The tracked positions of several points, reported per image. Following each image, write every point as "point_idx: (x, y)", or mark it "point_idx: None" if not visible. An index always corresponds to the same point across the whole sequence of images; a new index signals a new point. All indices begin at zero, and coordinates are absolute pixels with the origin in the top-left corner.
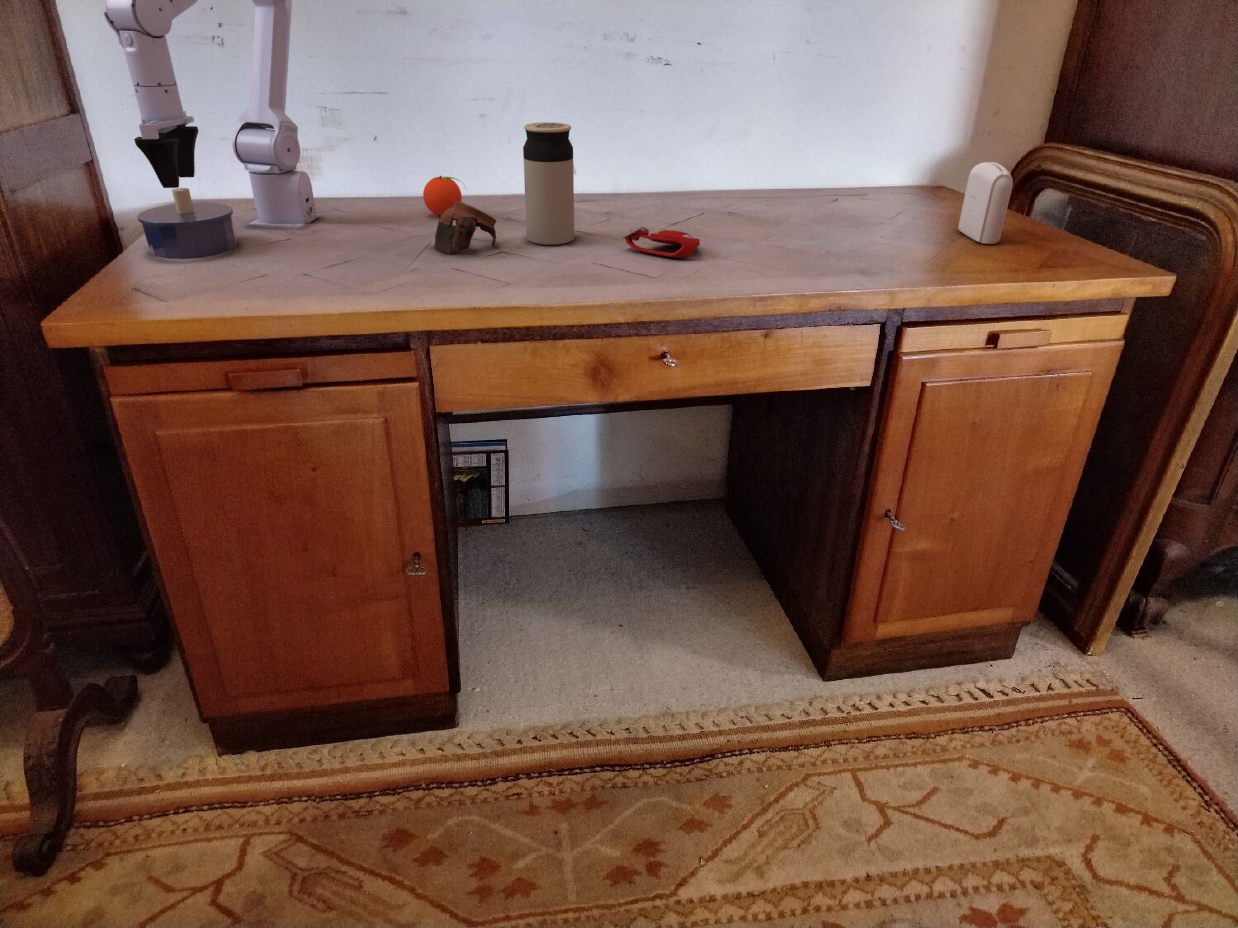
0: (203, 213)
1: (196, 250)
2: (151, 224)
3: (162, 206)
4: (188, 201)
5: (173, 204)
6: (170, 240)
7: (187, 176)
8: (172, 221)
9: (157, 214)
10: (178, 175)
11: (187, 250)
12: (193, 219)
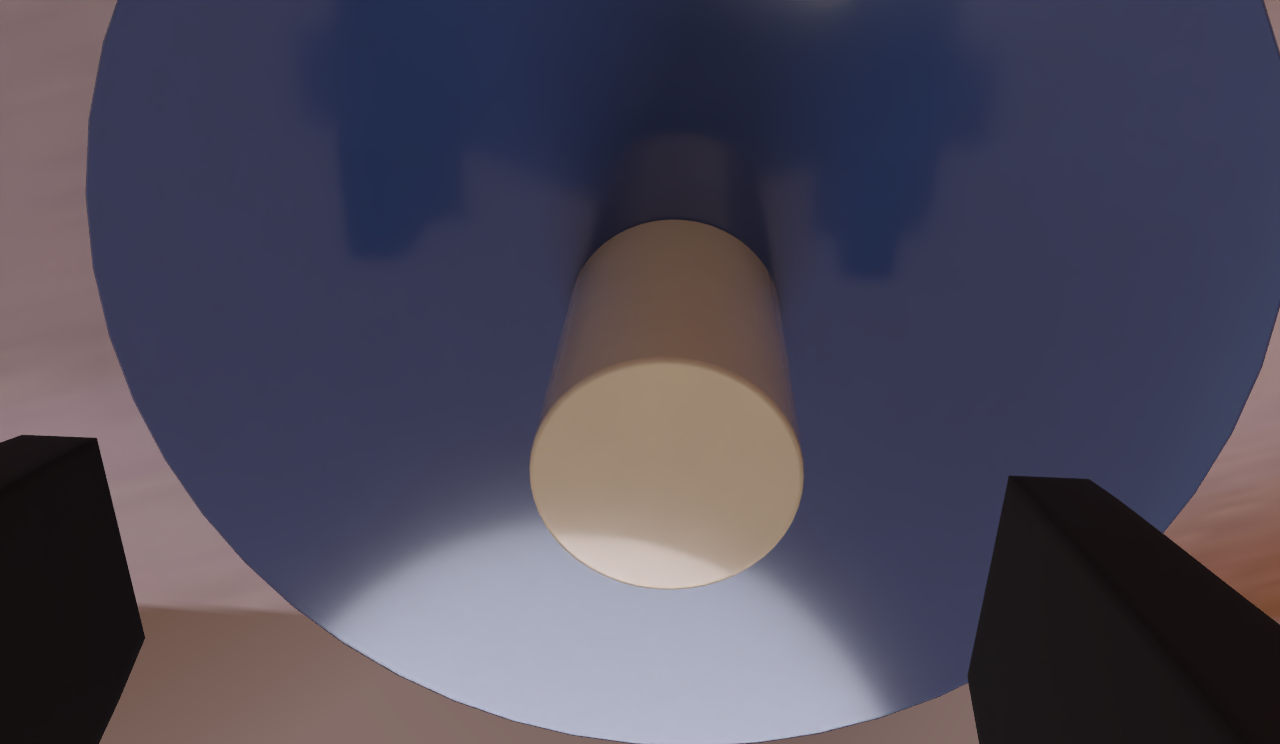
0: (783, 66)
1: None
2: None
3: (349, 625)
4: (741, 305)
5: (239, 546)
6: None
7: (112, 533)
8: (1189, 352)
9: (756, 586)
10: (1116, 573)
11: None
12: (1154, 114)
